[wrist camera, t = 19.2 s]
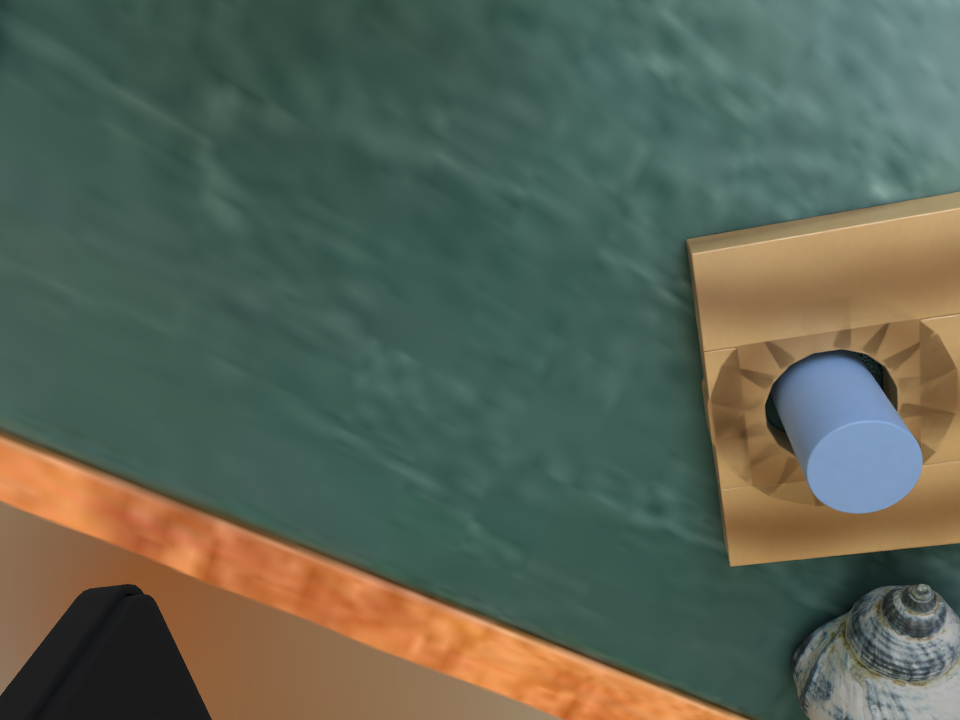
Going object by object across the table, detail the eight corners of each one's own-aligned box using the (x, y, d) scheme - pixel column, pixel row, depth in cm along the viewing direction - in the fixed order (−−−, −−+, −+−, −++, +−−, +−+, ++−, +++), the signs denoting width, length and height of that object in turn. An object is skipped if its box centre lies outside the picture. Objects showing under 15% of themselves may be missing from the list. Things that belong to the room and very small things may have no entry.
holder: (682, 239, 36) (687, 254, 35) (991, 185, 34) (1013, 198, 32) (721, 541, 43) (727, 567, 41) (983, 513, 41) (1001, 539, 39)
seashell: (764, 665, 48) (907, 516, 43) (882, 761, 46) (1048, 617, 41) (739, 732, 43) (900, 571, 37) (872, 844, 41) (1062, 691, 35)
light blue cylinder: (766, 349, 38) (803, 428, 32) (865, 335, 37) (922, 413, 31) (773, 430, 40) (809, 520, 34) (869, 418, 39) (924, 507, 33)
